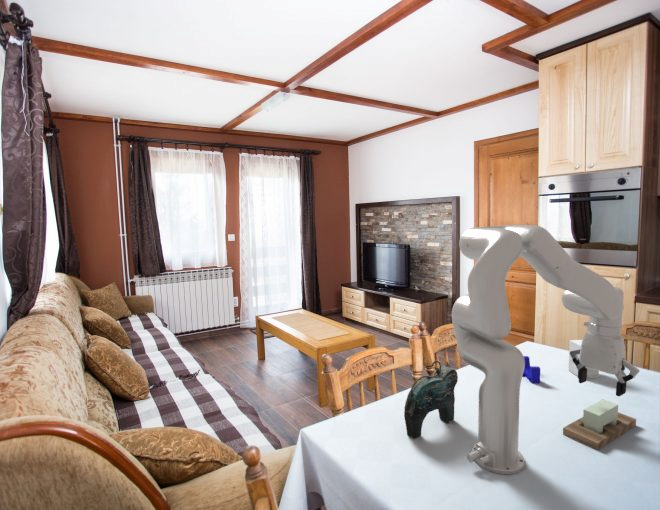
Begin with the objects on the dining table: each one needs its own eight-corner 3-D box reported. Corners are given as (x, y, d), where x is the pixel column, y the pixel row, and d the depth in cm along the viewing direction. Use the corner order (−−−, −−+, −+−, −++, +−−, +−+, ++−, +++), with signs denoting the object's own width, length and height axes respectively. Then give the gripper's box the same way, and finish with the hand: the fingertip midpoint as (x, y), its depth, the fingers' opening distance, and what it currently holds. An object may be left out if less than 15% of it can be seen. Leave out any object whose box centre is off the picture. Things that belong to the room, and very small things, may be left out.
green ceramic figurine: (446, 412, 124) (446, 352, 122) (462, 421, 119) (463, 358, 117) (400, 433, 114) (400, 368, 111) (417, 444, 108) (416, 375, 106)
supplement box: (599, 378, 146) (600, 345, 145) (579, 378, 146) (580, 346, 145) (586, 370, 153) (587, 339, 152) (567, 370, 153) (568, 339, 152)
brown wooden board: (597, 450, 103) (597, 443, 103) (562, 434, 111) (563, 427, 110) (635, 425, 114) (636, 419, 114) (601, 412, 122) (602, 406, 121)
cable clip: (515, 370, 156) (516, 355, 155) (527, 370, 155) (527, 356, 154) (526, 383, 144) (527, 367, 143) (539, 383, 143) (540, 368, 142)
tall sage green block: (597, 439, 108) (599, 415, 107) (582, 432, 111) (583, 409, 110) (617, 427, 113) (618, 404, 113) (601, 421, 117) (602, 399, 116)
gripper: (565, 324, 115) (562, 380, 116) (634, 340, 100) (629, 404, 101) (579, 321, 118) (575, 375, 120) (647, 336, 104) (642, 397, 105)
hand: (600, 388), depth 111 cm, fingers open, 9 cm apart
